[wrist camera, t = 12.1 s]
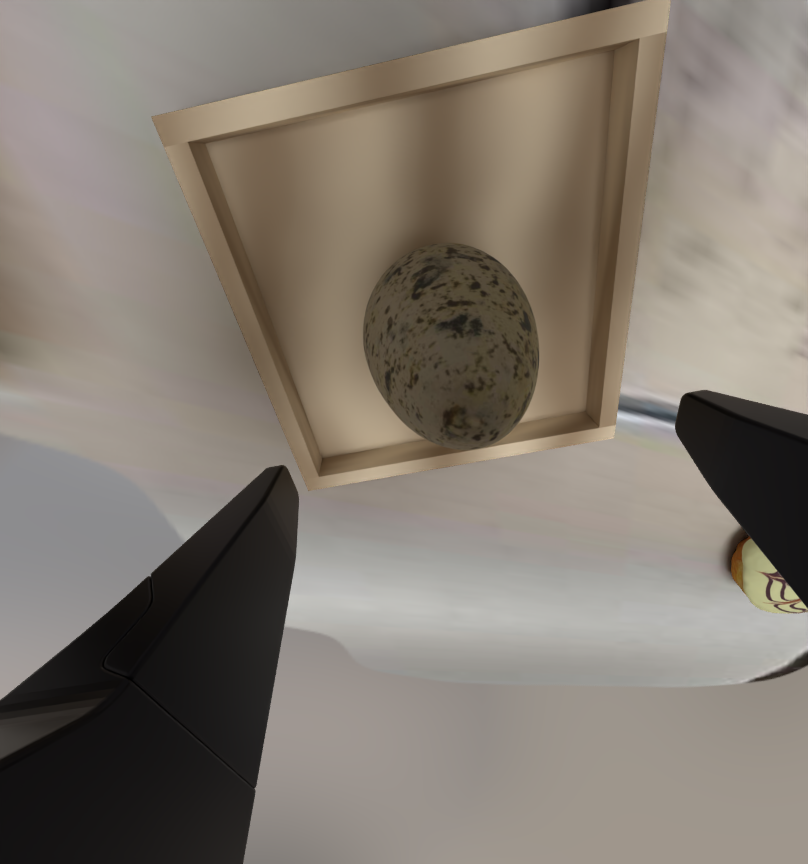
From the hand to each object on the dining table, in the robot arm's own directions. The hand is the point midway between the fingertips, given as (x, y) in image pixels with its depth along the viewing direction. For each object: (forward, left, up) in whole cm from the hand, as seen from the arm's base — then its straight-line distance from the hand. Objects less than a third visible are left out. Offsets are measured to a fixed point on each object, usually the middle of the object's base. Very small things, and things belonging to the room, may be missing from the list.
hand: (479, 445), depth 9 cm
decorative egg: (0, 0, -11) cm, 11 cm away
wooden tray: (0, 0, -11) cm, 11 cm away
